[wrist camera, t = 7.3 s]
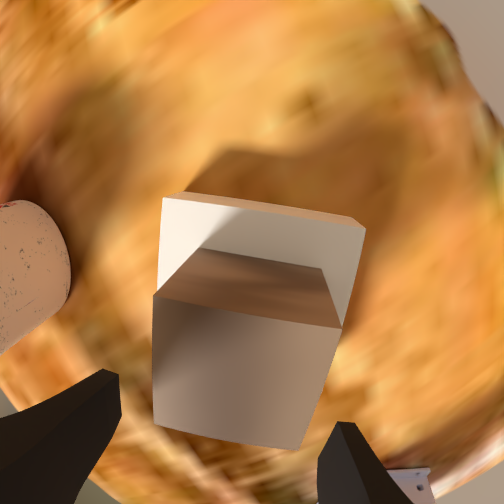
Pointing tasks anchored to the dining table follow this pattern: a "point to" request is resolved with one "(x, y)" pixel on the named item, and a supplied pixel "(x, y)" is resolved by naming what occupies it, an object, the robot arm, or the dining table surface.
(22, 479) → the robot arm
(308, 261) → the cream block
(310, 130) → the dining table surface
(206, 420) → the walnut cube
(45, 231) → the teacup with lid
